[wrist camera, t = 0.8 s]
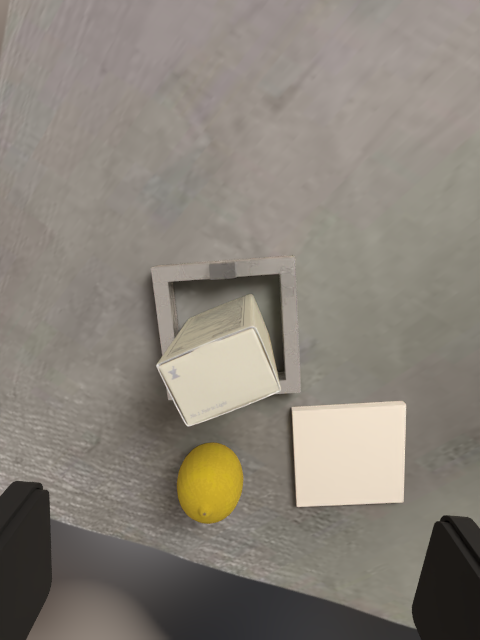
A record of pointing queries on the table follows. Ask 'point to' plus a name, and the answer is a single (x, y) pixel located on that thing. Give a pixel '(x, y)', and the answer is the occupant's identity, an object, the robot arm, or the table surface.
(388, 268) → the table surface
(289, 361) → the grey square frame
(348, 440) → the pad
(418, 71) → the table surface
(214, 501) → the lemon
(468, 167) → the table surface
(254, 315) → the skincare box
